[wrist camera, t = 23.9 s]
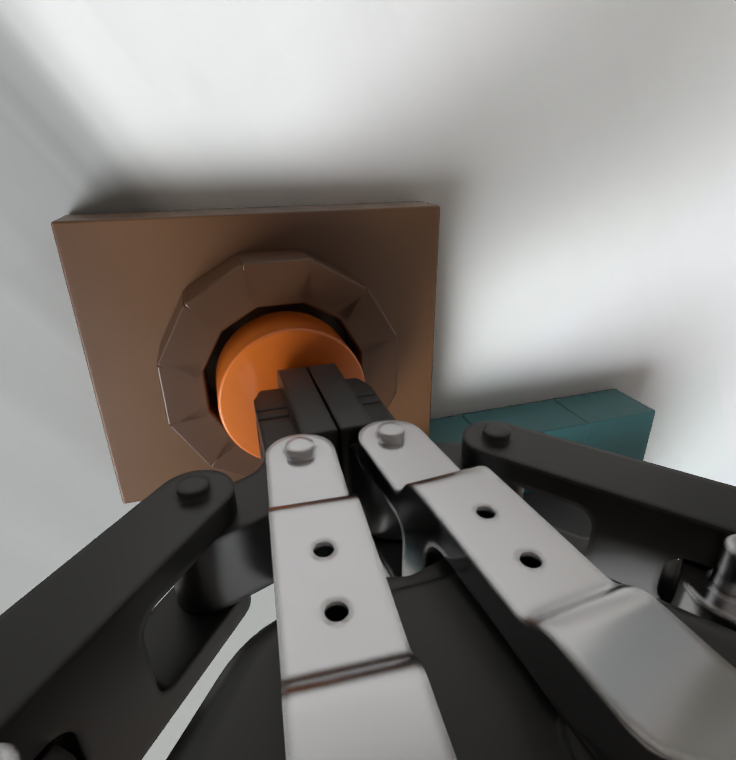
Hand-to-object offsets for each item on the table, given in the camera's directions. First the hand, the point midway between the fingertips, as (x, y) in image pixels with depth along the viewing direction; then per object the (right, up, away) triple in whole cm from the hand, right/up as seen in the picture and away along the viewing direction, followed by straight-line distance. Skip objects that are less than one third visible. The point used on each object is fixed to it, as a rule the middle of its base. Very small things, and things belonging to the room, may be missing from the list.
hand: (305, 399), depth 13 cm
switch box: (-2, +2, +4) cm, 5 cm away
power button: (-1, +1, +2) cm, 2 cm away
